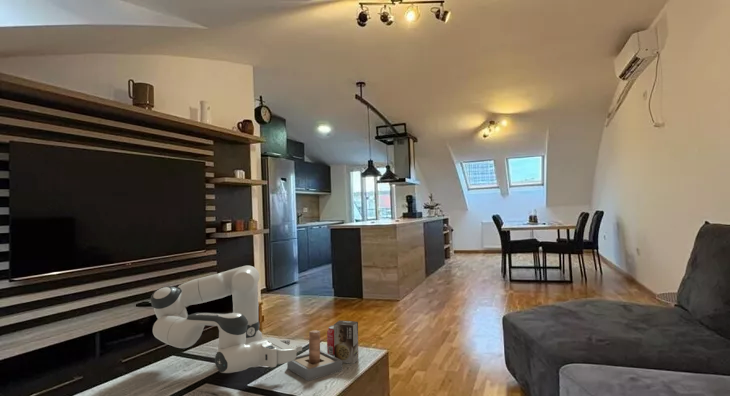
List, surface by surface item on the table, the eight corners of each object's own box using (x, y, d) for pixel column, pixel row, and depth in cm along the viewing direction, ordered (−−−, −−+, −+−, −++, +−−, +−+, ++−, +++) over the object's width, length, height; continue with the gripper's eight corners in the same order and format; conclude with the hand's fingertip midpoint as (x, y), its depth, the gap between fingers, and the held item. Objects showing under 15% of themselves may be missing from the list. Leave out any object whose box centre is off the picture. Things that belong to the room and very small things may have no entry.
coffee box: (358, 359, 176) (358, 321, 177) (353, 364, 170) (353, 325, 171) (339, 356, 179) (339, 319, 180) (333, 361, 173) (333, 323, 173)
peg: (306, 366, 165) (307, 331, 165) (316, 364, 167) (316, 329, 168) (312, 369, 161) (312, 334, 162) (322, 367, 164) (322, 332, 164)
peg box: (287, 368, 165) (287, 358, 166) (320, 359, 175) (320, 350, 176) (307, 380, 153) (307, 370, 153) (342, 370, 163) (342, 360, 163)
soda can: (343, 351, 186) (343, 325, 186) (341, 356, 179) (341, 329, 179) (328, 351, 187) (328, 324, 187) (325, 356, 180) (325, 328, 180)
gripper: (250, 353, 158) (282, 346, 167) (274, 369, 142) (308, 360, 151) (250, 337, 158) (282, 330, 167) (274, 350, 142) (308, 342, 151)
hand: (295, 344), depth 159 cm, fingers open, 8 cm apart
